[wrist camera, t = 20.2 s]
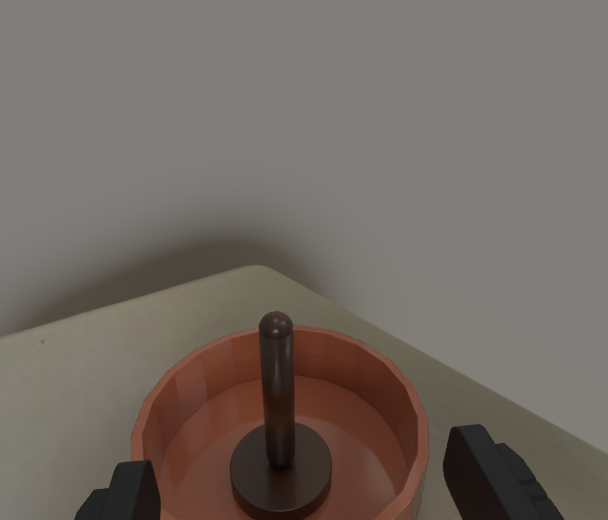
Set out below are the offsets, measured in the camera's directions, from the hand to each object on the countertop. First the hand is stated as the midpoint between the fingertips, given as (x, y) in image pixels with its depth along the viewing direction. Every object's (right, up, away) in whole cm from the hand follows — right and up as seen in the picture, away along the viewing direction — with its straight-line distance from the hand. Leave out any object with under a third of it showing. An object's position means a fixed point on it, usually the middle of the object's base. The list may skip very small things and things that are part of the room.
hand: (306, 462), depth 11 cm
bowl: (-1, -9, +16) cm, 18 cm away
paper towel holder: (-1, -8, +15) cm, 17 cm away
